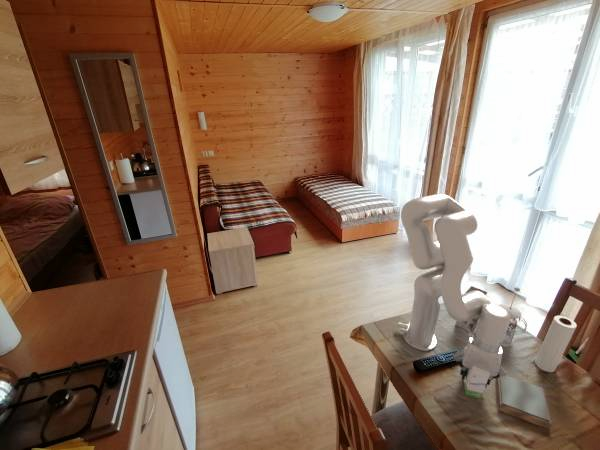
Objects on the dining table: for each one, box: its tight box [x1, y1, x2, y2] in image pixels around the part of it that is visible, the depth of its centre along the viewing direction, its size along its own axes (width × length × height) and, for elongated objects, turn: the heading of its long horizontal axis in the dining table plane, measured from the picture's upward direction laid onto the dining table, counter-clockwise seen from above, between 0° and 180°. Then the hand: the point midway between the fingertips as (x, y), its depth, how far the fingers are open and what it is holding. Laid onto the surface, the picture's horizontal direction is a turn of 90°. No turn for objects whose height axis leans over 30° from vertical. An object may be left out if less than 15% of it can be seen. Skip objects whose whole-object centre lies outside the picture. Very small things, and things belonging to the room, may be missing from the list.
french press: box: [498, 286, 528, 347], centre depth 117 cm, size 10×12×25 cm
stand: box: [495, 375, 552, 430], centre depth 97 cm, size 13×13×3 cm
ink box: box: [463, 366, 490, 399], centre depth 100 cm, size 8×5×12 cm, turn 159°
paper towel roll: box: [534, 311, 577, 373], centre depth 105 cm, size 7×6×21 cm
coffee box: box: [455, 285, 488, 333], centre depth 126 cm, size 9×6×16 cm
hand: (473, 379), depth 101 cm, fingers open, 5 cm apart
